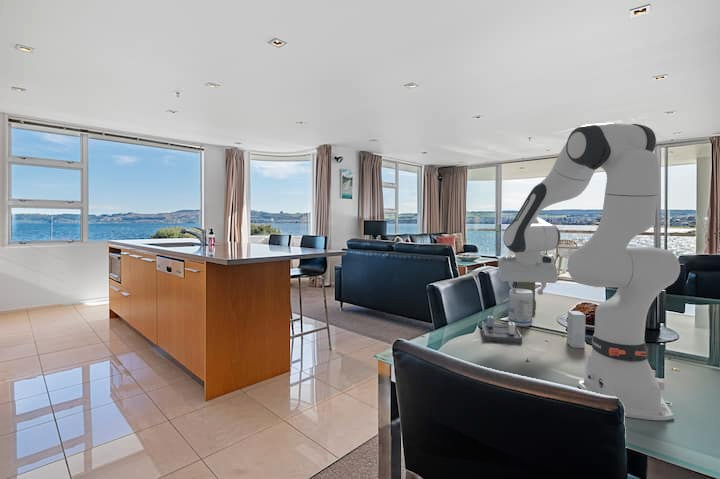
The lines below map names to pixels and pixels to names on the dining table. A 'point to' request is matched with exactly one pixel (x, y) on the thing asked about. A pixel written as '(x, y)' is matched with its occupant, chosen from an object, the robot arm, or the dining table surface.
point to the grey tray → (500, 334)
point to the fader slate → (490, 321)
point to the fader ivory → (511, 327)
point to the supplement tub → (521, 307)
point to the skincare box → (576, 329)
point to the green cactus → (529, 287)
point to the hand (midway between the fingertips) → (526, 293)
